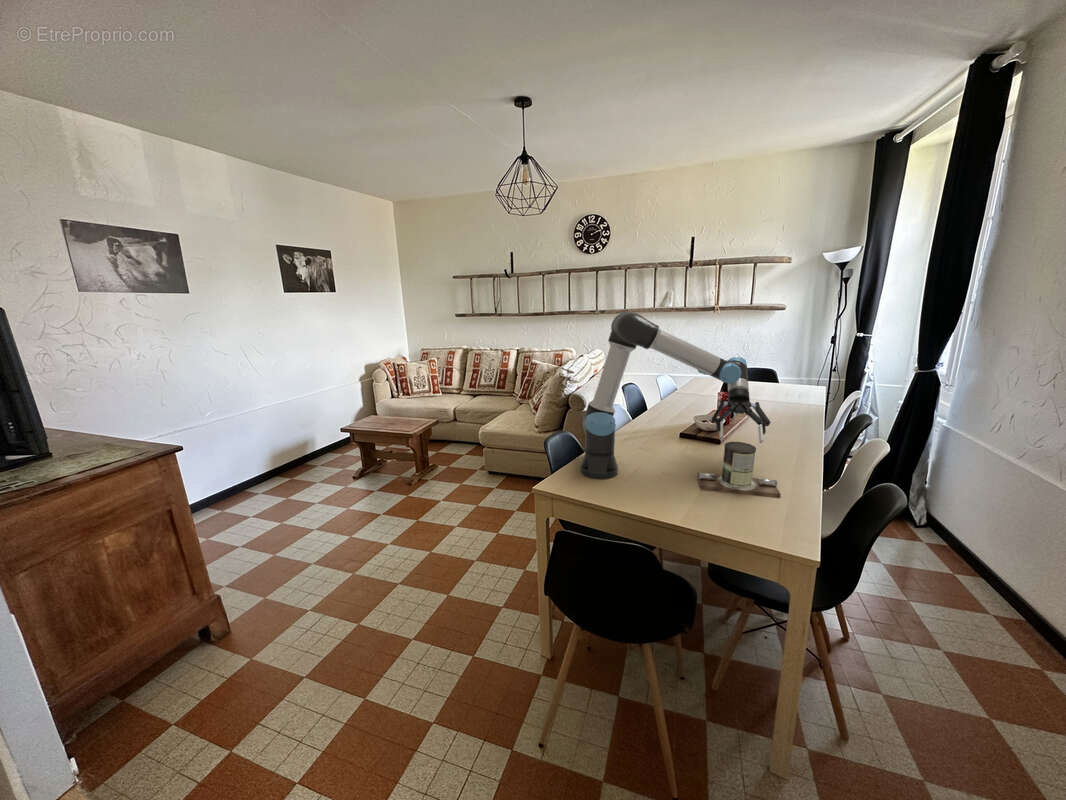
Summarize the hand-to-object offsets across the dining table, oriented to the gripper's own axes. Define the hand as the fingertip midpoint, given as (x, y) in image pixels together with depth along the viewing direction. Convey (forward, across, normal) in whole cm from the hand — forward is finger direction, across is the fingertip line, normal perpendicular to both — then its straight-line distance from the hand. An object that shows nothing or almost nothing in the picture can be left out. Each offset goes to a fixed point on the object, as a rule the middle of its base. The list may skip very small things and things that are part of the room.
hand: (741, 439), depth 153 cm
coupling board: (+15, +1, -8) cm, 17 cm away
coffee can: (+14, +1, -7) cm, 16 cm away
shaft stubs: (+14, +1, -7) cm, 16 cm away
